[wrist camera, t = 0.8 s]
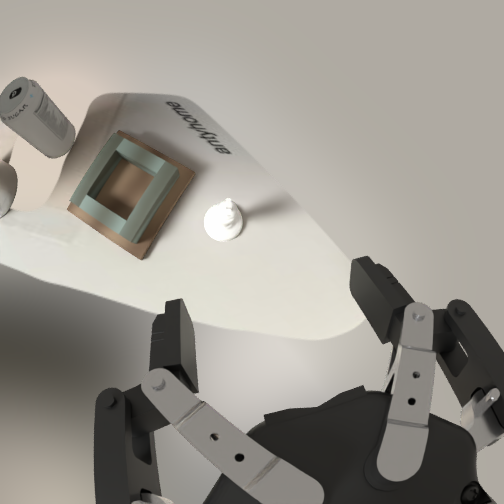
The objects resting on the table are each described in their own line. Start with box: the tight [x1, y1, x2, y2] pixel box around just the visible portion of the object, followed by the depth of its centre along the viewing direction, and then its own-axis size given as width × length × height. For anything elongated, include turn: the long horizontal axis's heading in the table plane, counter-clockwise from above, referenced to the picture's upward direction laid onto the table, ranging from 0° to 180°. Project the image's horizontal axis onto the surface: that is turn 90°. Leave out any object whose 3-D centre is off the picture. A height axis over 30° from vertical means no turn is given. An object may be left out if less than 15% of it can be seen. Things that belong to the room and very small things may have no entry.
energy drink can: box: [0, 77, 75, 158], centre depth 26 cm, size 6×6×15 cm
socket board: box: [67, 130, 195, 260], centre depth 33 cm, size 13×13×4 cm
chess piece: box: [204, 198, 243, 241], centre depth 32 cm, size 5×5×10 cm
